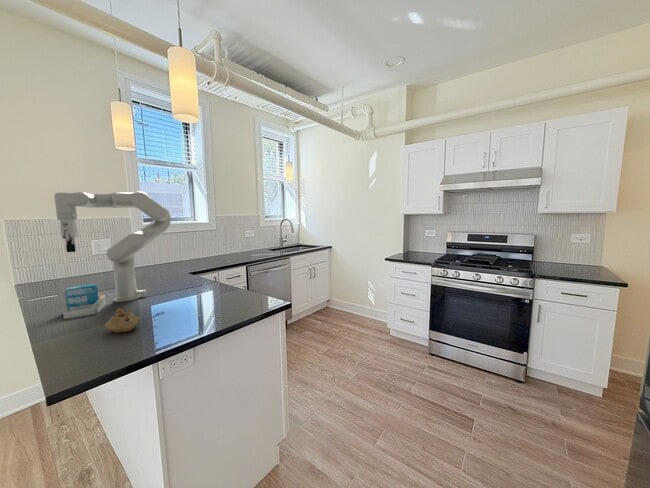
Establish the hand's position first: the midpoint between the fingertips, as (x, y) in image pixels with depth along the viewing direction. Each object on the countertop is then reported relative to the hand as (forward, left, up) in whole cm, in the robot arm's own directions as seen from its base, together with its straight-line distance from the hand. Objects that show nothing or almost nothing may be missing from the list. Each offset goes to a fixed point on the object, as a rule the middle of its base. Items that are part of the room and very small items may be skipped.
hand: (71, 251), depth 141 cm
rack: (-7, +15, -29) cm, 33 cm away
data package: (-5, +11, -29) cm, 32 cm away
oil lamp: (-28, +57, -29) cm, 70 cm away
